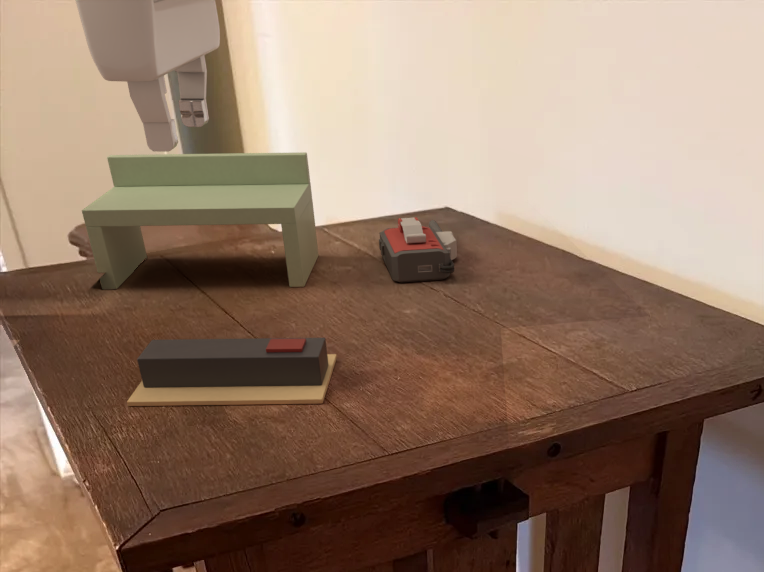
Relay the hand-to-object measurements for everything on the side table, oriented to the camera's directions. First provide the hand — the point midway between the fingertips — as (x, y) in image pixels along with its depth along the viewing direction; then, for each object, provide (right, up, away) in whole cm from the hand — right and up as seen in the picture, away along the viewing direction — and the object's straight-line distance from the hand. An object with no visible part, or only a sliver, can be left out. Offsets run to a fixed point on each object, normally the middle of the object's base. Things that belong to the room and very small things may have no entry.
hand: (181, 137), depth 68 cm
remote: (+1, -15, +11) cm, 18 cm away
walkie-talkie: (+15, +7, +39) cm, 43 cm away
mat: (+1, -15, +11) cm, 19 cm away
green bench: (-8, +5, +36) cm, 37 cm away
